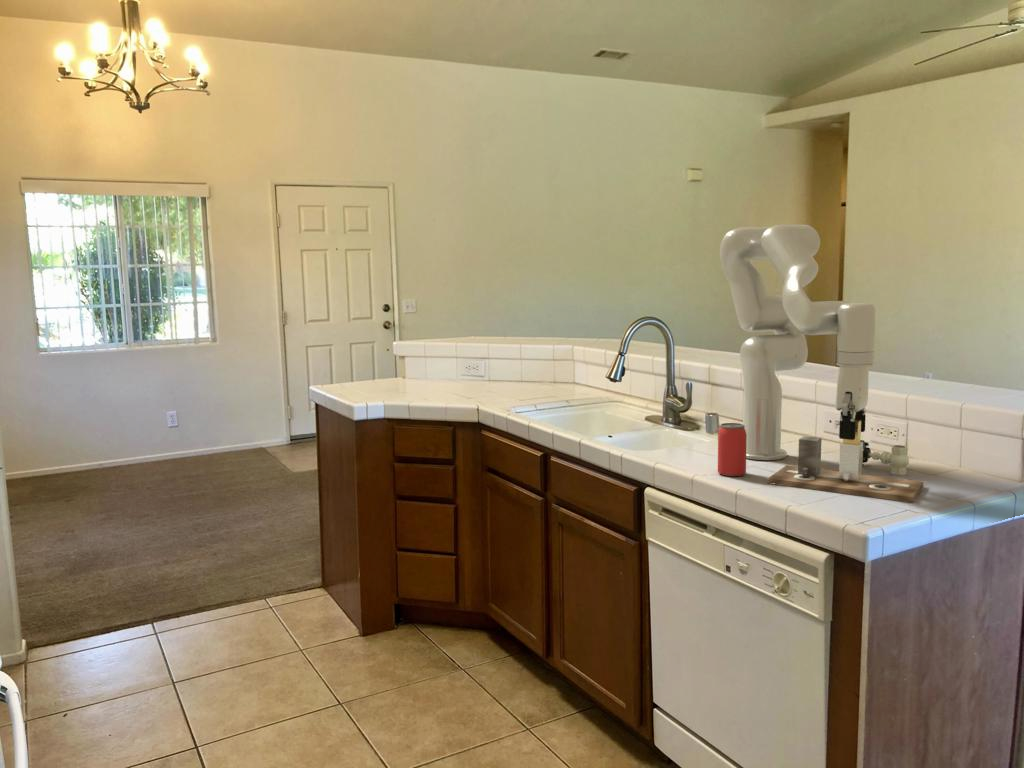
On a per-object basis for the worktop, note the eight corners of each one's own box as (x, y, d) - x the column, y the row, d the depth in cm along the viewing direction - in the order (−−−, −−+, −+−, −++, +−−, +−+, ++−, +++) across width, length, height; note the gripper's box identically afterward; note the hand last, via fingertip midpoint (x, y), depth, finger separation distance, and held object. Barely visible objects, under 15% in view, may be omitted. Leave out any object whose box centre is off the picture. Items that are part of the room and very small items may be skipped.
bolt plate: (767, 483, 181) (768, 441, 180) (786, 470, 193) (787, 431, 191) (912, 502, 164) (914, 457, 163) (923, 487, 175) (925, 444, 174)
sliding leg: (836, 480, 176) (838, 423, 174) (843, 474, 181) (845, 418, 179) (855, 483, 174) (857, 425, 172) (861, 476, 179) (864, 420, 177)
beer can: (733, 478, 186) (733, 428, 184) (711, 473, 191) (712, 424, 190) (751, 474, 189) (752, 425, 188) (730, 469, 195) (731, 421, 193)
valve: (914, 472, 188) (865, 463, 197) (915, 445, 187) (866, 437, 197) (900, 477, 184) (851, 468, 194) (901, 450, 183) (852, 441, 193)
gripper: (846, 354, 184) (843, 427, 186) (827, 362, 170) (824, 440, 172) (881, 355, 179) (878, 430, 182) (864, 364, 165) (861, 444, 168)
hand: (852, 435), depth 177 cm, fingers open, 9 cm apart
